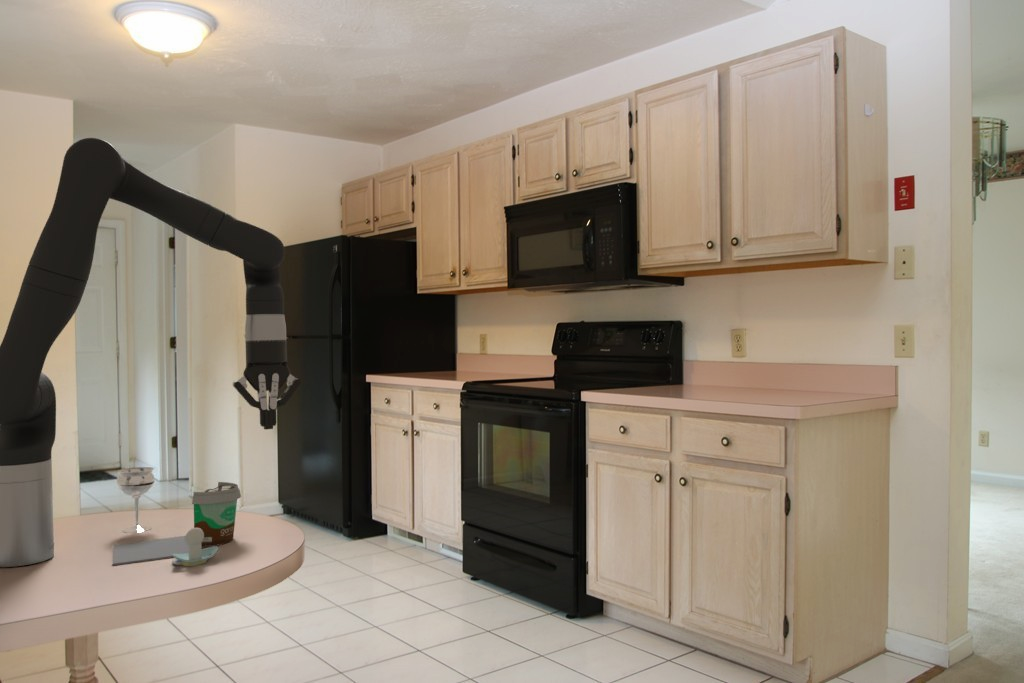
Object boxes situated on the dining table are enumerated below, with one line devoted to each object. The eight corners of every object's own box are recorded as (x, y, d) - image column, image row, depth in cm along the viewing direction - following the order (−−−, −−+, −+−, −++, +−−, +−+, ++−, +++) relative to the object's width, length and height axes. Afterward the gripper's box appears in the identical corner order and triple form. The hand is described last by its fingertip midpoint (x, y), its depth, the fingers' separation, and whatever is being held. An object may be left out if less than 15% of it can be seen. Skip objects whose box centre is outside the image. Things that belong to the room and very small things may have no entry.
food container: (224, 549, 139) (226, 493, 139) (190, 548, 139) (192, 492, 139) (249, 533, 151) (250, 482, 151) (218, 532, 151) (219, 481, 151)
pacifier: (165, 564, 131) (176, 571, 127) (164, 527, 132) (175, 532, 127) (209, 556, 136) (221, 562, 132) (208, 520, 136) (220, 525, 132)
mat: (112, 565, 131) (112, 563, 131) (113, 546, 143) (113, 544, 143) (201, 553, 137) (201, 551, 137) (195, 535, 149) (195, 534, 149)
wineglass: (115, 529, 156) (113, 469, 156) (151, 523, 160) (150, 465, 160) (121, 535, 151) (120, 474, 151) (159, 529, 155) (157, 470, 155)
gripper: (231, 339, 142) (234, 433, 142) (304, 337, 148) (307, 428, 148) (227, 339, 149) (229, 429, 149) (297, 338, 155) (299, 424, 155)
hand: (268, 428), depth 149 cm, fingers closed
